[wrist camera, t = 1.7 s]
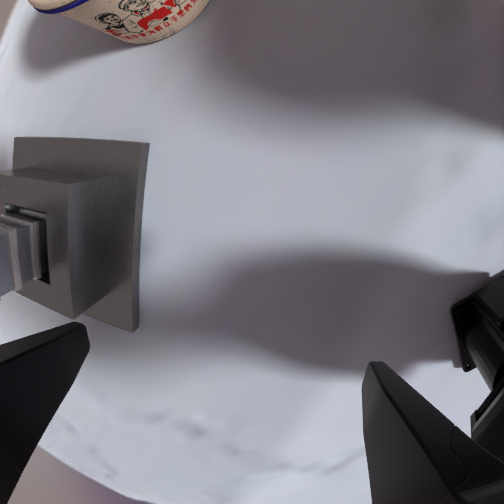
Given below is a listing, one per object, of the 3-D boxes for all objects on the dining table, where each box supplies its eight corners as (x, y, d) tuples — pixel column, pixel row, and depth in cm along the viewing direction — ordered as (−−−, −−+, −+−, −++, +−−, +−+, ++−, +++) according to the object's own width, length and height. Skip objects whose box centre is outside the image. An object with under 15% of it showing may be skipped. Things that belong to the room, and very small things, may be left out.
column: (82, 209, 20) (-57, 261, 9) (82, 259, 22) (-41, 330, 10) (41, 200, 21) (-83, 241, 10) (42, 246, 22) (-70, 301, 11)
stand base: (149, 143, 19) (93, 143, 14) (138, 326, 24) (97, 369, 18) (22, 136, 21) (-30, 141, 15) (25, 281, 25) (-17, 304, 20)
